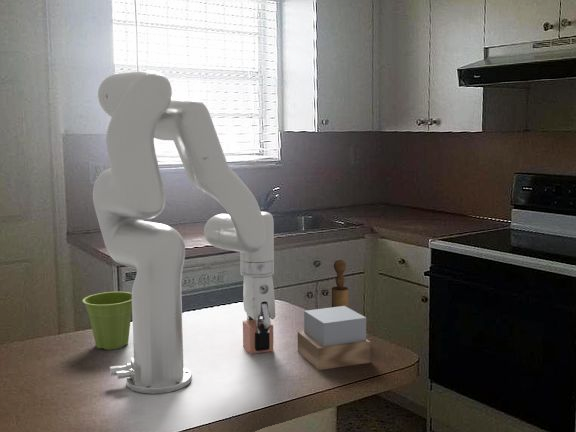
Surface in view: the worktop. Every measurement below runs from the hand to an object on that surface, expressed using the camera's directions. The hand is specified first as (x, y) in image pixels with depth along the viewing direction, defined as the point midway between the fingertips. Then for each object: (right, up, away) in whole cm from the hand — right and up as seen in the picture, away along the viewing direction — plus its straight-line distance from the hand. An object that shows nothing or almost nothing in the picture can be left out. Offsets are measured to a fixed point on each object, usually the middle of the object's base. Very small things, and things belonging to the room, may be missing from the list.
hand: (258, 344), depth 150 cm
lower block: (+17, -2, -5) cm, 18 cm away
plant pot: (-34, -1, +3) cm, 34 cm away
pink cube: (0, -1, 0) cm, 1 cm away
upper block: (+17, +3, -6) cm, 18 cm away
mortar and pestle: (+19, +1, +11) cm, 22 cm away
